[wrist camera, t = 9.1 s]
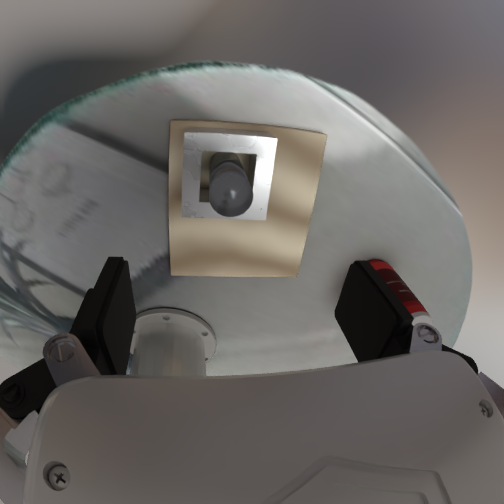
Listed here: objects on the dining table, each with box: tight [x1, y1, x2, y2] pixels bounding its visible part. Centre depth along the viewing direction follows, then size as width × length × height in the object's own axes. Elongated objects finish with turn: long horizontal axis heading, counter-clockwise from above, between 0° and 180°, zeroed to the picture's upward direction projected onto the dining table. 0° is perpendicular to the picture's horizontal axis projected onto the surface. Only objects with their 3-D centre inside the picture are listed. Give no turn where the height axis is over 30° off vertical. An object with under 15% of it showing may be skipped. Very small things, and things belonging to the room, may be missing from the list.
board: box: [169, 120, 327, 277], centre depth 28 cm, size 16×14×1 cm
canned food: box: [368, 260, 433, 326], centre depth 32 cm, size 8×8×11 cm
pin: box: [209, 152, 253, 217], centre depth 21 cm, size 3×3×8 cm
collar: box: [182, 127, 277, 220], centre depth 23 cm, size 7×7×4 cm
